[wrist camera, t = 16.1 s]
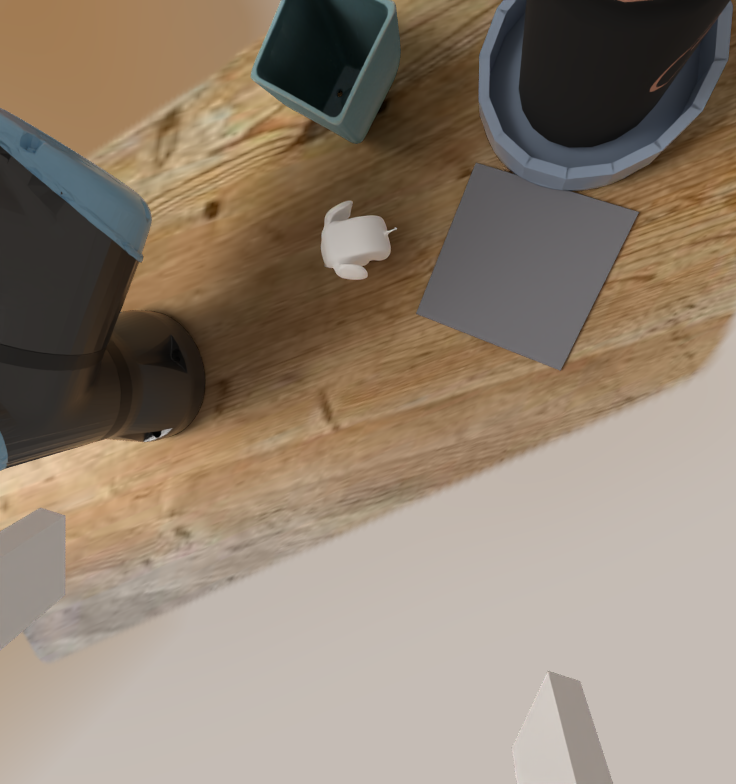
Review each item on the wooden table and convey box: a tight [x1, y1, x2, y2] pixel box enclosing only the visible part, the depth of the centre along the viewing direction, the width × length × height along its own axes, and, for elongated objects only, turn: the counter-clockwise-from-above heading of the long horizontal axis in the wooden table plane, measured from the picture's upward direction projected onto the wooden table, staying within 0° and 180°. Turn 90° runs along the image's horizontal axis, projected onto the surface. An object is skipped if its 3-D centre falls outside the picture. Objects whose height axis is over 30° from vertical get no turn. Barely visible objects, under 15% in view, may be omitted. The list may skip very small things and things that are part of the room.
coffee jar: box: [519, 0, 730, 148], centre depth 26 cm, size 11×11×18 cm
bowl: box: [479, 0, 733, 191], centre depth 33 cm, size 17×17×4 cm
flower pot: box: [251, 0, 401, 144], centre depth 36 cm, size 9×9×9 cm
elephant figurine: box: [320, 201, 397, 280], centre depth 39 cm, size 7×8×6 cm
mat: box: [416, 163, 639, 371], centre depth 38 cm, size 14×14×1 cm
